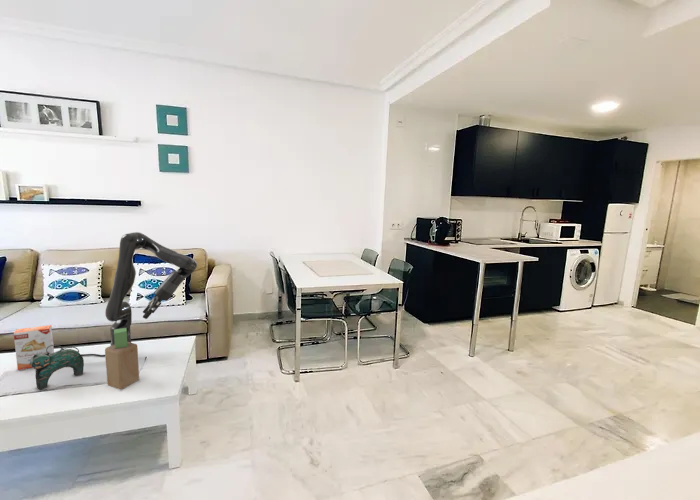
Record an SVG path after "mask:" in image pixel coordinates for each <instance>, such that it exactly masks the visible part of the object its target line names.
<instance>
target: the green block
mask: <svg viewBox="0 0 700 500" xmlns="http://www.w3.org/2000/svg"><path fill="white" fill-rule="evenodd" d="M114 341H115V349H117V348H123V347H128V346H127V330H126V328H121V329H115V330H114Z"/></svg>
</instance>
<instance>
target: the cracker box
mask: <svg viewBox="0 0 700 500" xmlns="http://www.w3.org/2000/svg"><path fill="white" fill-rule="evenodd" d="M13 340H14V341H13V342H14V349H15V358H16V368H17V371H21V370H26V369H34V368H33V367H32V366H31V364H30V360H31V358H32V357H33V356H34V355H36V354H40V353H44V354H47V352H48V353H49V355H50V354H52V353H54V352H55V346H50V345H53V344H54V336H53V327H52V324H49V325H40V326H32V327H23V328H17V329H16V330H14V332H13ZM48 346H50V347H48ZM47 347H48V349H47ZM46 349H47V352H46Z"/></svg>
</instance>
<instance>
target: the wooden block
mask: <svg viewBox="0 0 700 500" xmlns="http://www.w3.org/2000/svg"><path fill="white" fill-rule="evenodd" d="M127 346H128V347H123V348H117V349H115V345H112V346H111V345H110V346H107V347H105V349H104V355H105V356H104V357H105V368H106V369H105V370H106V383H107V386H109V387H111V388H115V389H118V390H123V389H125V388H127V387H130V386H131V385H133V384H135V383H136V382H138V381H139V380H140V368H139V367H140V366H139V351H138V344H137V343H134V342H131V343H130V342H127Z"/></svg>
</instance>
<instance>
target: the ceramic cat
mask: <svg viewBox="0 0 700 500" xmlns="http://www.w3.org/2000/svg"><path fill="white" fill-rule="evenodd" d="M55 345H56V344H54V345H50V346H54V347H56V346H55ZM50 346H48V347H50ZM48 347H47V349H48ZM47 349H46V352H47ZM63 349H64V350H63ZM63 349H61V348H60V350H57V351H54V353H52V354H50V355H49V353H48V352H47V354H44V353H40V354H36V355H34V356H33V357H32V358H31V360H30V364H31V366H32V367H33V368H32V369H34V370H35V384H36V389H38V390H39V391H41V390H44V389H47V388H48V384H49V380H50V378H51V376H52V375H53V374H54V373H55V372H57V371H58V370H61V369H64V368H71V369H72V371H73V375H74V376H75V377H80V376H82V375H83V374H84V366H85V362H84V356H81V355H80V354H81V353H80V350H79V348H77V347H76V346H68V347H63ZM75 349H76V350H75Z"/></svg>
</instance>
